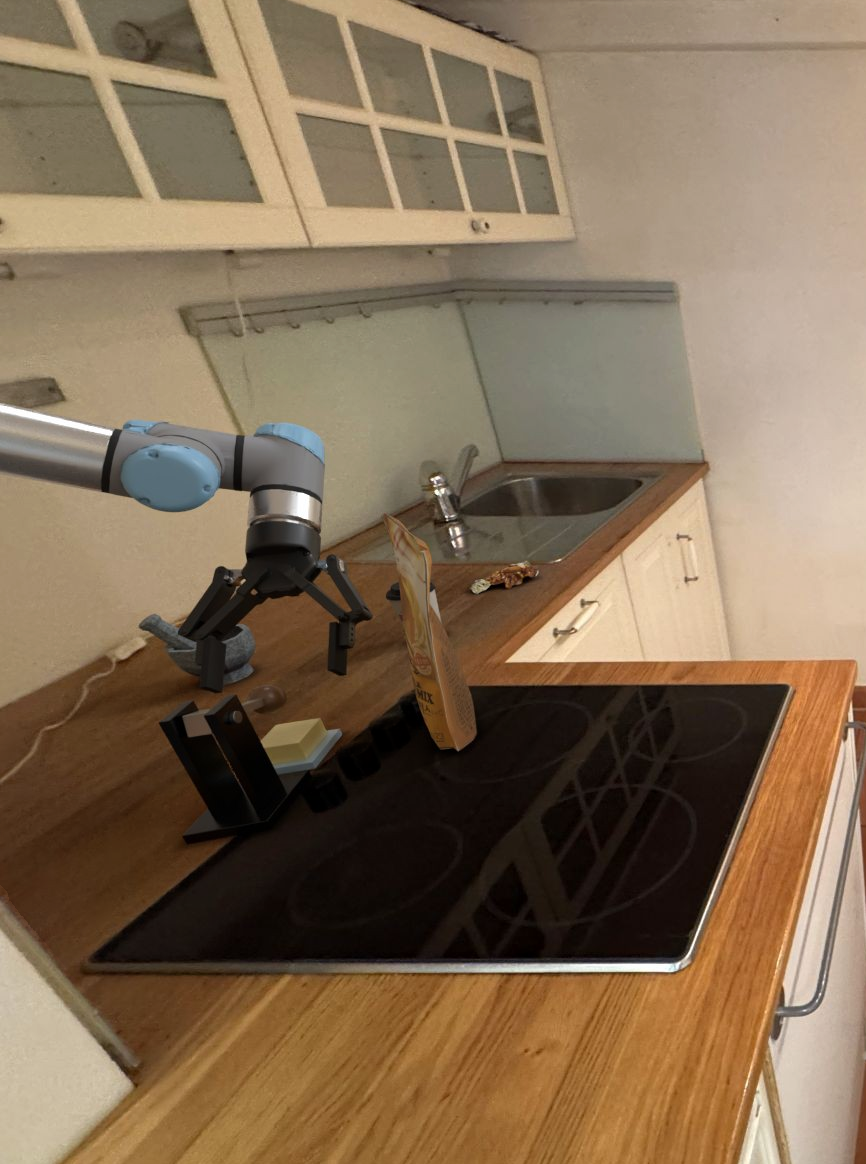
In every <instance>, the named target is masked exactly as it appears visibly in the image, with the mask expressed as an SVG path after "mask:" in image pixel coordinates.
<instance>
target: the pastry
mask: <svg viewBox="0 0 866 1164" xmlns="http://www.w3.org/2000/svg"><path fill="white" fill-rule="evenodd" d="M539 573H540V571H539V569H538V566H535V567H534V566H533V565H532V564H530V562H529V560H525V561H522V562H518V563H511V564H508V565H507V567H505V568H502V570H496V571H495V572H493V573H491V574H490V576H487V577H485V578H479V579H476V580H474V583H473V584H471V586H470V587H469V590H471V591H472V592H473V593H474V594H476V595H478V594H479V593H481V592H485V591H486V590H487V589H488V588H490V586H492V585H493V586H494V585H499V584H502V583H504V585H505V588H506V589H508V590H509V589H511V588H513V586H518V585H521V584H523V580H524V578H525V577H527V576H529V577H530V578H535V577H537V576H538V574H539Z"/></svg>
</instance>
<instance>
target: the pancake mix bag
mask: <svg viewBox="0 0 866 1164" xmlns="http://www.w3.org/2000/svg"><path fill="white" fill-rule="evenodd" d="M380 518H381V520H382V522H383V523H384V526H385V528H386V530H387V533H388V536H389V539H390V542H391V545H392V550H393V553H394V557H395V562H396V573H397V582H399V587H400V596H401V608H402V617H403V624H404V627H403V629H404V636H405V642H406V650H407V656H408V662H409V668H410V673H411V679H412V682H413V688H414V693H415V697H416V700H417V703H418V706H419V710H420V713H421V715H422V717H423V721H424V723H425V725H426V727H427V729H428V732H429V734H430V737H431V739H432V740H433V741H434V743H435V744H436V745H437V747H438V748H439V750H441V751H443V750H449V749H454V750H455V751H457V752H459V751H461V750H463V749H464V748H465V747H466V746H468V745H469V744H470V743H472V741H474V740H475V738H476V736H477V735H478V731H477V721H476V715H475V707H474V706H475V705H474V701H473V695H472V693H471V690H470V687H469V685H468V682H467V680H466V677H465V674H464V671H463V668H462V666H461V663H460V660H459V658H458V655H457V653H456V651H455V649H454V647H453V645H452V643H451V639H450V638H449V636H448V633H447V631H446V629H445V627H444V625H443V622H442V620H441V621H440V620H439V618H438V616H437V614H436V613H435V611H434V610H433V608H432V606H431V605H430V582H431V577H432V576H431V575H432V565H433V560H432V556H431V552H430V548H429V547H428V544H427V542H425V541H423V540H422V539H420V538H418V536H415V535H414V534H412V532H410V531H409V530H408V529H407V528H406V526H405V525H404V524H403V523H402V522H401V521H400V520H399V519H398V518H396V517H394V516H391V515H389V514H387V513H386V512H384V513H383V514H382V515H381V516H380Z"/></svg>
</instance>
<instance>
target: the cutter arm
mask: <svg viewBox="0 0 866 1164" xmlns="http://www.w3.org/2000/svg"><path fill="white" fill-rule="evenodd" d="M287 700H288V696H287V693H286V692H285V691H284V689H282V688H281V687H280V686H277V685H274V684H273V685H272V684H264V685H260V686H257V687H255V688H254V689H252V690H251V691H250V693H249V694H248V696H247V701H244V702H241V704H242V706H243V708H244V710H245V712H246V714H247V713H249V712H252V711H253V712H255V713H257V714H260V715H271V714H275V713H277V712H279V711H280V710H282V709H283V708H284V707H285V705H287ZM212 708H213V707H212ZM212 708H205V709H199V711H196V712H193V713H190V714H187V715H184V716H182V718H183V721H184V725H185V728H186V732H187V735H188V737H195V736H201V735H208V734H212V735H214V734H213V733H212V731H211V729H210V727H209V725H208V723H207V722H206V720H205V718H204V715H205V714H206V713H207V712H208V711H209V710H211V709H212Z"/></svg>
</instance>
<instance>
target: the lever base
mask: <svg viewBox="0 0 866 1164" xmlns="http://www.w3.org/2000/svg"><path fill="white" fill-rule="evenodd" d="M241 703H242V702H241V700H240V699H239V697H238V694H229V695H225V696H224V697H223V698H222V699H220V700H219V702H217V703H216V704H215V705H214V706H213V707H212V709H211V708H210V709H211V710H209V711H208V712H207V713H206V714H205V715H204V718H205V720H206V722H207V723H208V725H209V727H210V729H211V731H212V733H213V734H208V735H201V736H195V737H188V735H187V732H186V728H185V725H184V721H183V718H182V716H184V715H187V714H190V713H193V712H196V711H199V710H200V709H199V707H198V706H197V704H196V702H195V700H187V701H183V702H181V703H180V704H179V705H178V706H176V707H175V708H174V709H173V710H172V711H170V712H169V713H168V714H166V715H165V716H164V717H163V718H162V719H161V720H159V721H158V725H159V727H160V728H161V730H162V732H163V734H164V735H165V737H166V738H167V740H168V742H169V744H170V746H171V748H172V749H173V751H174V752H175V753H174V754H175V755H176V756H177V758H178V760H179V762H180V763H181V764H182V767H183V768H184V770H185V772H186V774H187V775H188V777H189V778H190V780H191V782H192V784H193V786H194V787H195V789H196V790H197V792H198V794H199V796H200V798H201V799H202V801H203V803H204V805H205V806H206V809H205V810H204V812H202V814H201V815H200V816H199V817H197V819H196V820H195V821H194V822H193V823H192V824H191V825H190V826H189V827H188V829H187V830H186V831H185V832H184V833H183V834H182V835H181V837H182V839H183V840H184V842H185V844H186V845H189V844H195V843H200V842H201V843H202V842H207V841H211V840H212V841H213V840H218V839H223V838H228V837H229V838H230V837H235V836H239V835H245V834H251V833H256V832H262V831H267V830H272V829H273V828H274V827H275V825H276V824H277V823H278V822H279V820H280V819H281V818H282V816H283V815H284V814H286V811H288V809H289V808H290V807H291V805H292V804H293V803H294V801H295V800H296V799H297V798H298V797H299V795H300V794H301V792H302V791H303V790H304V789H305V788H306V786H307V785H308V784H309V783H310V781H311V780H312V779H313V775H312V774H311V770H310V769H309V770H303V771H297V772H291V773H285V774H279V775H278V774H277V772H276V770H275V768H274V766H273V764H272V763H271V761H270V759H269V757H268V755H267V753H266V751H265V749H264V747H263V745H262V743H261V739H260V737H259V736H258V733H257V731H256V729H255V728H254V726H253V724H252V721H251V720H250V718H249V716H248V714H247V713H246V712H245V710H244V708H243V706H242V704H241Z"/></svg>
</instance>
